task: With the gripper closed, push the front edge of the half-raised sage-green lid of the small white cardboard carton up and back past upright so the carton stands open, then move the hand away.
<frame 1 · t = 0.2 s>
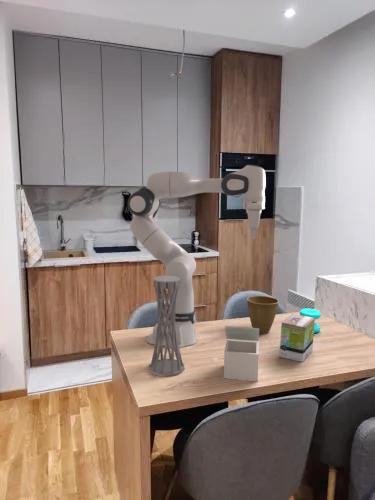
hand: (252, 237, 161), 48 cm above the table, tool pointing down, fingers open, 8 cm apart
donuts: (309, 330, 187), on the table
plant pot: (261, 331, 186), on the table
lid flap: (242, 333, 142), point 14 cm above the table, hinge at 40.0°
carton: (241, 372, 142), on the table
grey lattice tower: (166, 369, 145), on the table
tea box: (296, 354, 160), on the table
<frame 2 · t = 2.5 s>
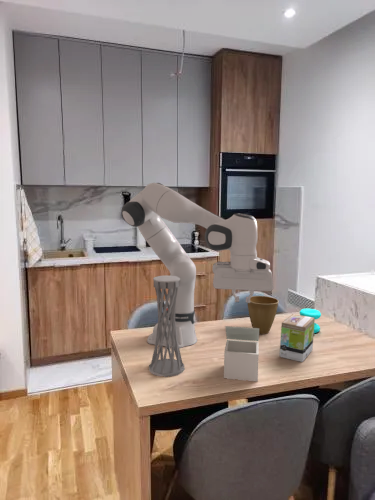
hand: (242, 302, 130), 29 cm above the table, tool pointing down, fingers closed
nothing on the table moved.
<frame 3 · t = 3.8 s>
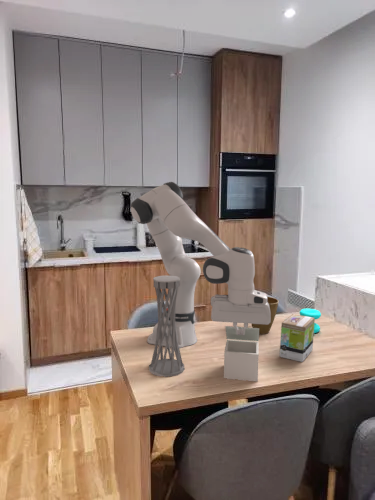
hand: (240, 334, 132), 18 cm above the table, tool pointing down, fingers closed
nothing on the table moved.
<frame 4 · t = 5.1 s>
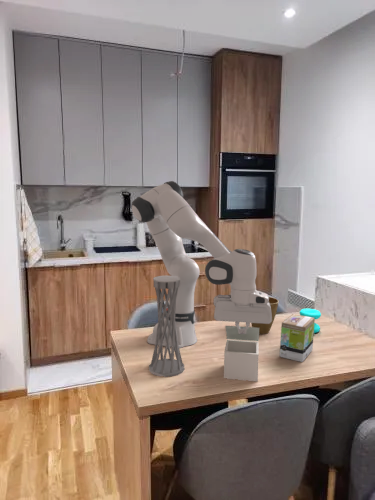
hand: (242, 333, 136), 17 cm above the table, tool pointing down, fingers closed, pressing on lid flap
lid flap: (242, 333, 142), point 15 cm above the table, hinge at 41.0°, touching gripper
everything else where it was.
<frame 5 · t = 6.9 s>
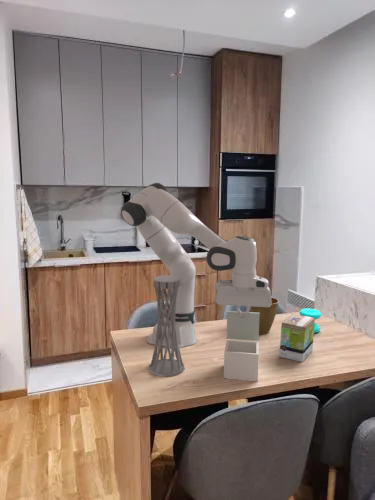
hand: (243, 317, 141), 21 cm above the table, tool pointing down, fingers closed, pressing on lid flap
lid flap: (242, 325, 144), point 16 cm above the table, hinge at 76.2°, touching gripper
everything else where it was.
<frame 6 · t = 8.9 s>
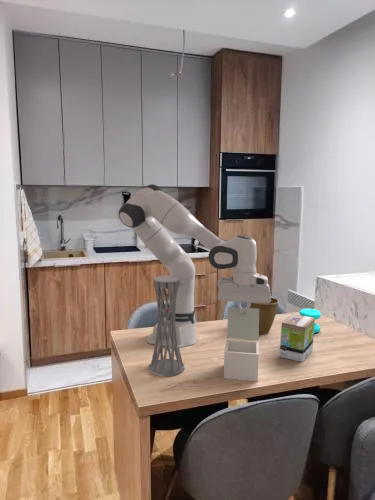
hand: (243, 313, 148), 20 cm above the table, tool pointing down, fingers closed, pressing on lid flap
lid flap: (243, 323, 148), point 16 cm above the table, hinge at 111.4°, touching gripper
everything else where it was.
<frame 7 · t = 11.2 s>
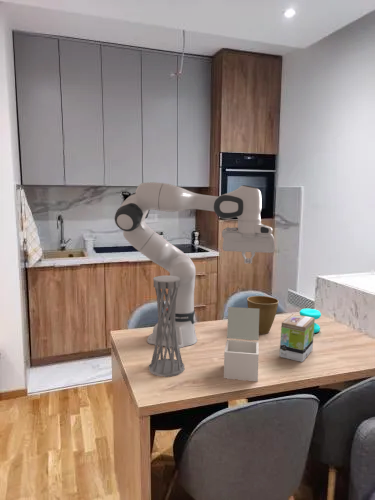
hand: (248, 263, 150), 39 cm above the table, tool pointing down, fingers closed
lid flap: (243, 323, 148), point 16 cm above the table, hinge at 111.4°
everything else where it was.
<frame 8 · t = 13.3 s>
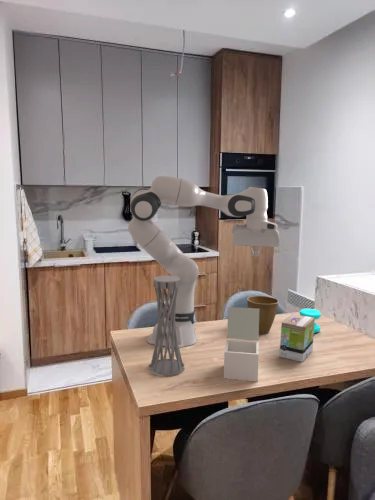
hand: (255, 256, 166), 39 cm above the table, tool pointing down, fingers closed
nothing on the table moved.
at the end: lid flap at +111° (first picture: +40°); the gripper is holding nothing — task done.
